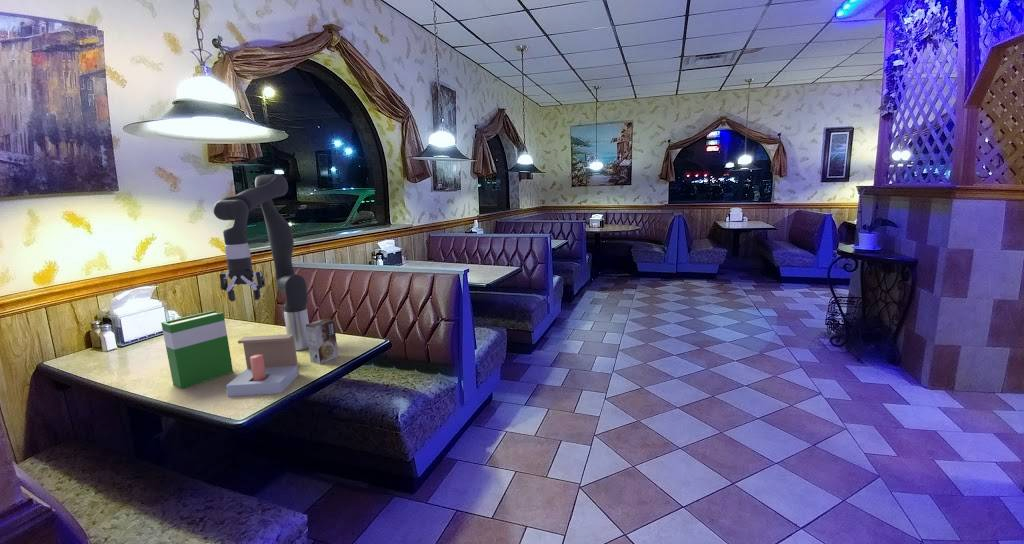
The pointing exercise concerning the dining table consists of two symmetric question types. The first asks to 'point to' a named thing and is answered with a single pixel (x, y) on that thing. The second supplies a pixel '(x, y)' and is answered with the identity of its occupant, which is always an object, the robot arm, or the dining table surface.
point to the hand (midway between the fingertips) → (245, 300)
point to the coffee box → (322, 341)
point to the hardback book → (197, 348)
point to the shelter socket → (267, 365)
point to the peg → (258, 367)
